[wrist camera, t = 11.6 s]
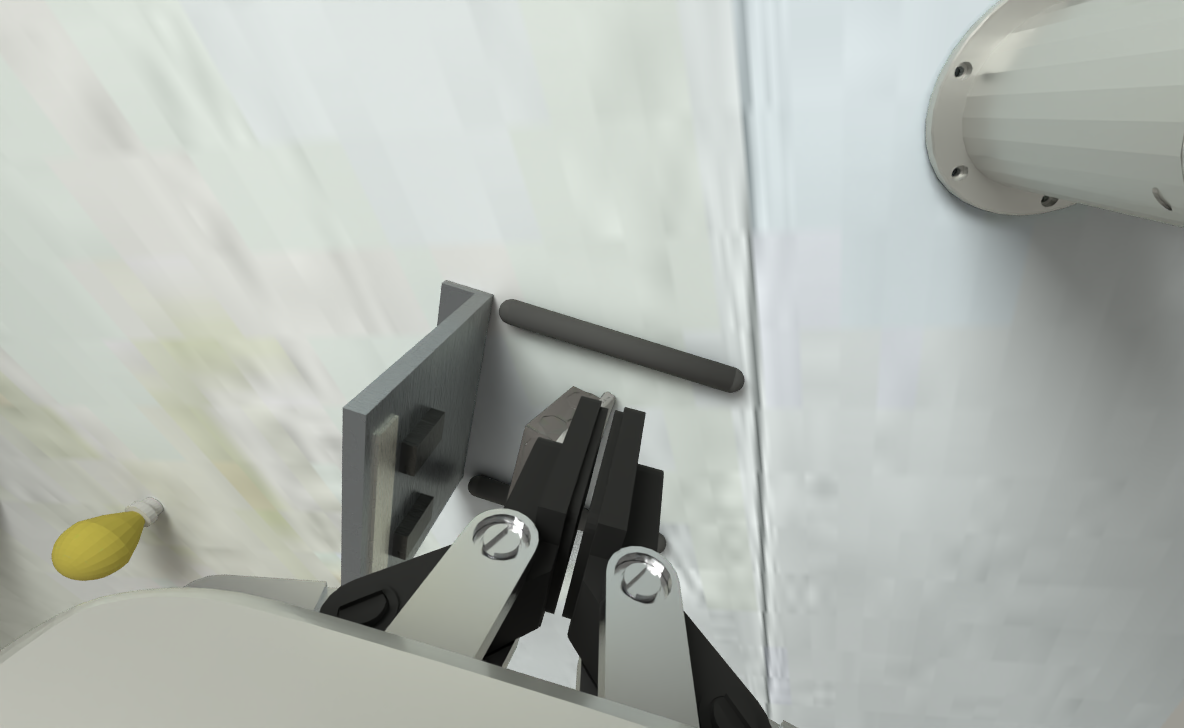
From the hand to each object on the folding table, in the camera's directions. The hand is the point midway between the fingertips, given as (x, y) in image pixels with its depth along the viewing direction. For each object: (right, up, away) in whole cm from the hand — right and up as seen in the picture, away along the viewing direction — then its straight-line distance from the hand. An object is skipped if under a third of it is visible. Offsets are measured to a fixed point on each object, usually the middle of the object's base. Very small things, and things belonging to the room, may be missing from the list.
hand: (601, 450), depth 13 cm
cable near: (+2, +4, +27) cm, 27 cm away
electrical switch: (-2, -3, +32) cm, 32 cm away
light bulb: (-53, -15, +48) cm, 73 cm away
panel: (-11, 0, +32) cm, 34 cm away
